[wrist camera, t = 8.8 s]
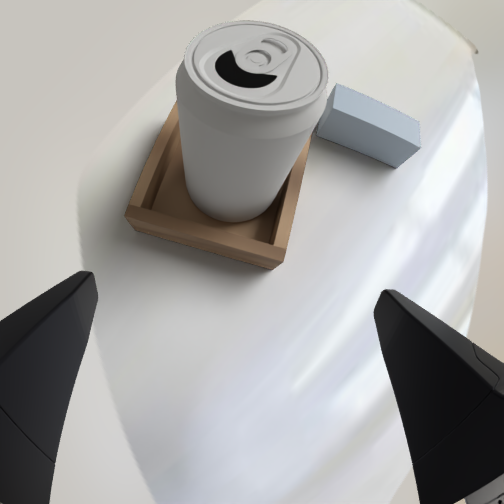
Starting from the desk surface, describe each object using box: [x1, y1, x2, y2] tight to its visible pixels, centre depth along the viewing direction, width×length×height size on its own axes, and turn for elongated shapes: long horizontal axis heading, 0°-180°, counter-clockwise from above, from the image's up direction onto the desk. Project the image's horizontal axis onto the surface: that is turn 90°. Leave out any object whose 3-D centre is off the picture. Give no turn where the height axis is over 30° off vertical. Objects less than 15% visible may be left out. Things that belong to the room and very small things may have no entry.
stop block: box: [316, 83, 421, 168], centre depth 23 cm, size 3×8×4 cm, turn 75°
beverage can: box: [176, 20, 329, 222], centre depth 16 cm, size 6×6×12 cm
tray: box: [124, 101, 312, 270], centre depth 20 cm, size 10×10×3 cm
